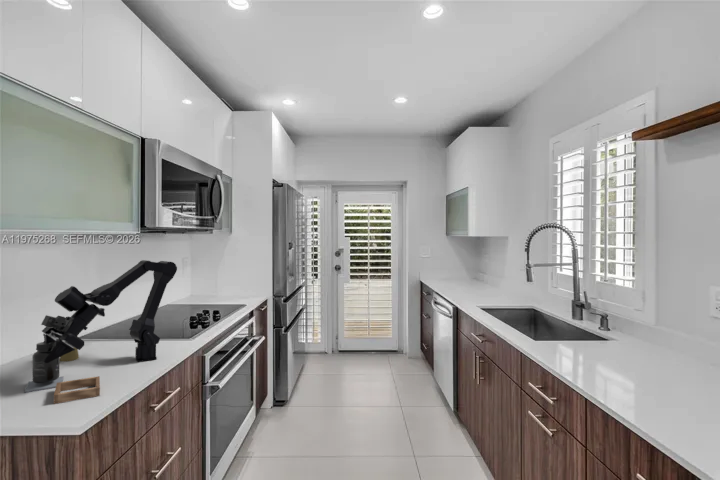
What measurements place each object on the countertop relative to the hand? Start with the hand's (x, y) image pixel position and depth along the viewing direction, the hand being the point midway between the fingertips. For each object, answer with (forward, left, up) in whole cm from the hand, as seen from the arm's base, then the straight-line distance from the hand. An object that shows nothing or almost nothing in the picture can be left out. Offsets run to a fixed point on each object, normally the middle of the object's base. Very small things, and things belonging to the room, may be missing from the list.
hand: (40, 360), depth 124 cm
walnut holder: (-10, +13, -8) cm, 18 cm away
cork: (-6, -27, -8) cm, 29 cm away
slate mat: (-1, 0, -8) cm, 8 cm away
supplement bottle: (-1, 0, -7) cm, 7 cm away
